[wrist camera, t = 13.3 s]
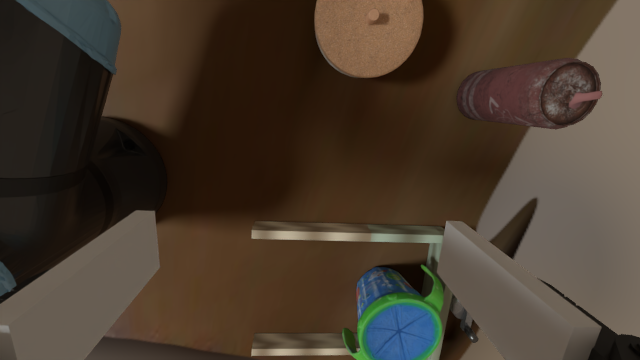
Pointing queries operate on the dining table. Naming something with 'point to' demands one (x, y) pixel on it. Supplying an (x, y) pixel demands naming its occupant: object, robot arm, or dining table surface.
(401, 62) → the lidded jar
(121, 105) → the dining table surface
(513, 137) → the dining table surface
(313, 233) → the bay
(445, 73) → the dining table surface
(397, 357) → the snack cup
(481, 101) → the can
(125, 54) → the dining table surface
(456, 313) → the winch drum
